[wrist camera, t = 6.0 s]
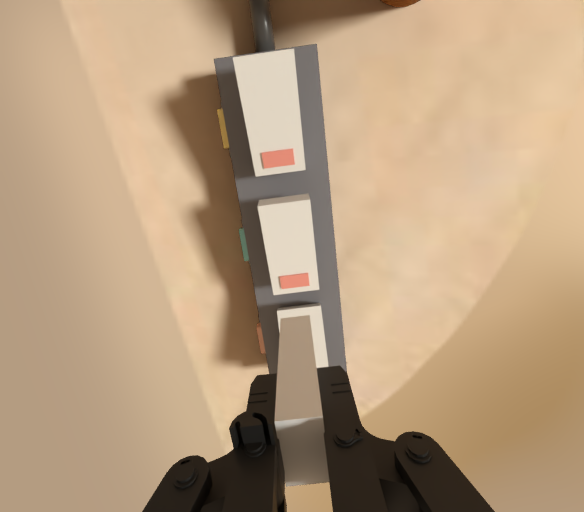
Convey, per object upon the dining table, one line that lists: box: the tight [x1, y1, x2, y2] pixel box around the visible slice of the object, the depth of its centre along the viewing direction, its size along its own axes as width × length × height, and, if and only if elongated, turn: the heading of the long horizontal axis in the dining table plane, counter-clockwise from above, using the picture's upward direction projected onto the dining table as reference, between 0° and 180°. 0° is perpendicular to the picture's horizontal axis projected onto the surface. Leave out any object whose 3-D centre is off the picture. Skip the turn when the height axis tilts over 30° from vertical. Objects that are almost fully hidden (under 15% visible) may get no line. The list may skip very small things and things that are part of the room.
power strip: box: [214, 0, 347, 374], centre depth 28 cm, size 36×8×5 cm, turn 7°
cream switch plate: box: [257, 194, 319, 295], centre depth 25 cm, size 8×4×2 cm, turn 8°
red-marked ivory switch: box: [233, 48, 306, 177], centre depth 23 cm, size 8×4×2 cm, turn 8°
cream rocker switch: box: [277, 303, 329, 368], centre depth 28 cm, size 8×4×2 cm, turn 7°
